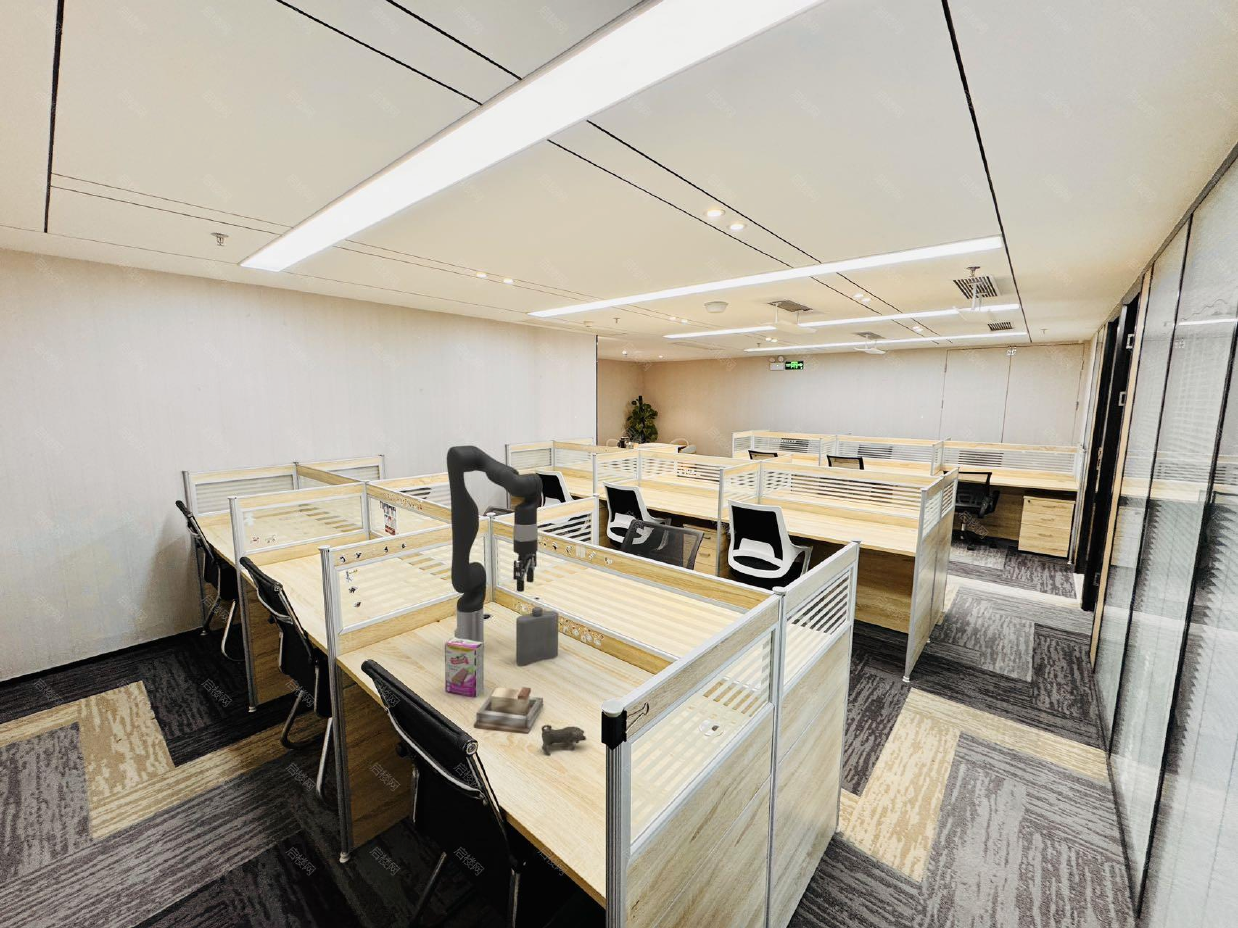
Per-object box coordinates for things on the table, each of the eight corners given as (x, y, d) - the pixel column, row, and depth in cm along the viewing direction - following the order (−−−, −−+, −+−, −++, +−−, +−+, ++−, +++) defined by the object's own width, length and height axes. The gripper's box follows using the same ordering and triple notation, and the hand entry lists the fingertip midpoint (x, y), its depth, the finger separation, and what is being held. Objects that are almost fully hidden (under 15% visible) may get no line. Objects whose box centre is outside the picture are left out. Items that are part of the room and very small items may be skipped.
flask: (554, 654, 185) (554, 602, 183) (559, 662, 180) (560, 608, 178) (513, 663, 178) (514, 608, 176) (518, 671, 173) (518, 615, 171)
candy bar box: (444, 692, 159) (443, 642, 157) (453, 684, 164) (453, 636, 162) (476, 698, 156) (475, 648, 154) (484, 690, 161) (484, 641, 159)
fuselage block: (491, 715, 147) (491, 692, 146) (497, 706, 151) (497, 683, 150) (525, 719, 145) (525, 696, 144) (530, 710, 149) (530, 687, 149)
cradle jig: (474, 727, 143) (473, 715, 142) (494, 699, 156) (494, 688, 156) (528, 735, 140) (528, 723, 139) (544, 705, 154) (544, 695, 153)
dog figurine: (541, 758, 131) (541, 732, 130) (541, 744, 137) (541, 718, 136) (587, 755, 133) (588, 728, 132) (585, 740, 138) (586, 715, 137)
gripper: (522, 530, 167) (522, 578, 169) (505, 541, 153) (505, 593, 155) (544, 532, 166) (543, 580, 168) (528, 543, 152) (528, 595, 154)
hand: (525, 586), depth 161 cm, fingers open, 8 cm apart
